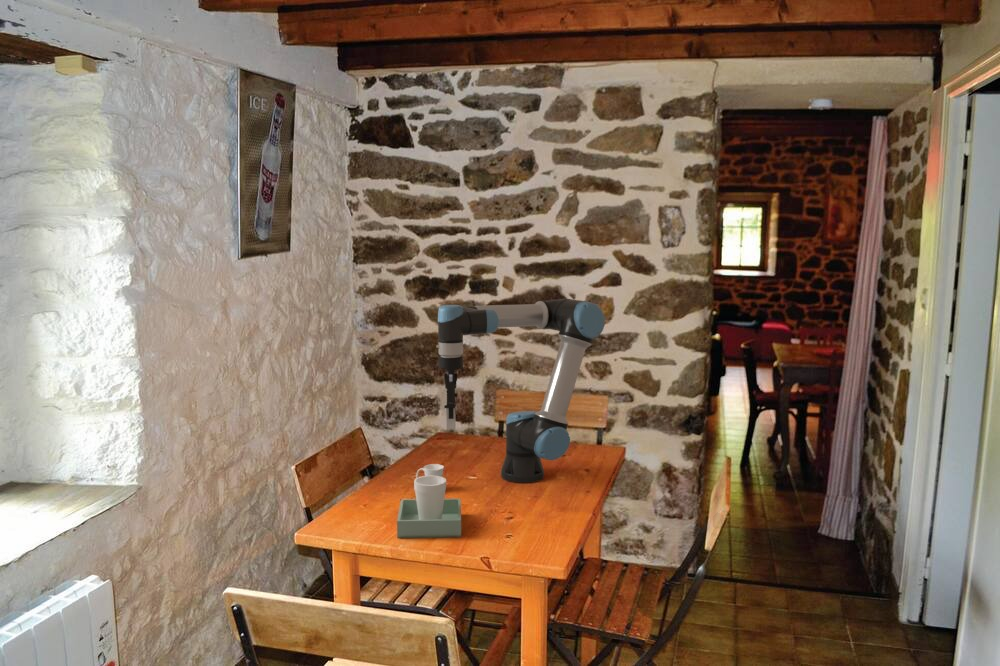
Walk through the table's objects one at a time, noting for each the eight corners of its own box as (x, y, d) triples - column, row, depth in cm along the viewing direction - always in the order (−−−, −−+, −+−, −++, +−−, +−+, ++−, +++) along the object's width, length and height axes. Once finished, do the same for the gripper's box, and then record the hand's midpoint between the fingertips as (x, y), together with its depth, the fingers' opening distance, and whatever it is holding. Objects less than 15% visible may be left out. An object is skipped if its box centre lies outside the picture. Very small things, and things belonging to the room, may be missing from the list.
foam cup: (414, 517, 241) (414, 475, 239) (445, 516, 242) (445, 475, 240) (414, 529, 232) (414, 486, 230) (446, 528, 233) (446, 485, 231)
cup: (438, 495, 263) (438, 471, 262) (411, 491, 267) (411, 467, 266) (448, 488, 269) (448, 465, 268) (421, 484, 273) (421, 461, 272)
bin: (460, 514, 246) (460, 498, 245) (461, 537, 228) (461, 520, 227) (401, 515, 245) (401, 499, 244) (397, 538, 227) (397, 521, 226)
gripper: (438, 349, 259) (439, 413, 262) (437, 362, 234) (438, 433, 237) (462, 348, 259) (462, 413, 262) (463, 362, 235) (463, 433, 238)
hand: (451, 423), depth 250 cm, fingers open, 13 cm apart
